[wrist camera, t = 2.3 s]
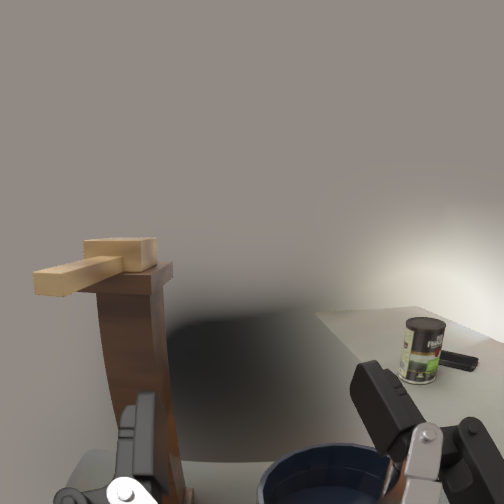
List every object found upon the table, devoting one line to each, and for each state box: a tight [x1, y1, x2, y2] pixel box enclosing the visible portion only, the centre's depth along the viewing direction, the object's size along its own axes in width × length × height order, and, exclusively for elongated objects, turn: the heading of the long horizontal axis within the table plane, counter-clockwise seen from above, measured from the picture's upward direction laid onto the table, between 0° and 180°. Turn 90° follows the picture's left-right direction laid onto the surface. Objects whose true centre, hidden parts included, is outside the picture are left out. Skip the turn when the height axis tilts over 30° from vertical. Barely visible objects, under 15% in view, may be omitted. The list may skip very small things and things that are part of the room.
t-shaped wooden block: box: [33, 238, 157, 297], centre depth 20 cm, size 14×5×2 cm, turn 3°
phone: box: [438, 350, 478, 371], centre depth 68 cm, size 8×1×15 cm
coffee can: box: [398, 317, 446, 384], centre depth 64 cm, size 10×10×14 cm
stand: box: [76, 262, 194, 504], centre depth 26 cm, size 8×7×32 cm
